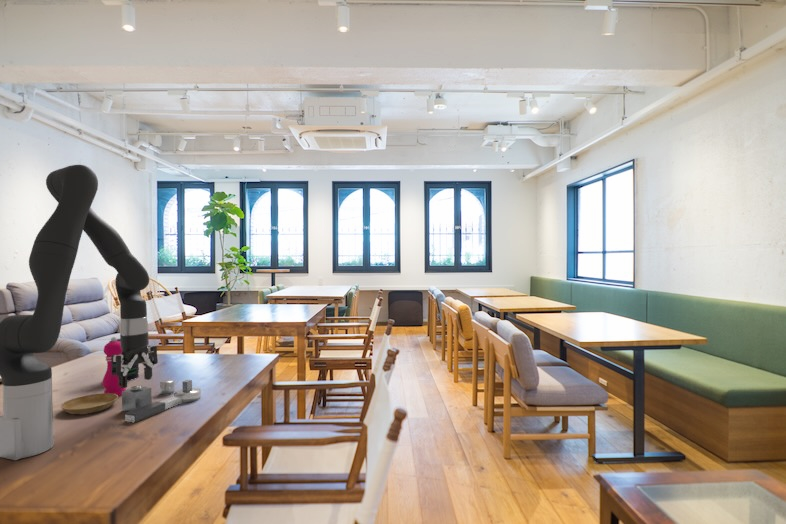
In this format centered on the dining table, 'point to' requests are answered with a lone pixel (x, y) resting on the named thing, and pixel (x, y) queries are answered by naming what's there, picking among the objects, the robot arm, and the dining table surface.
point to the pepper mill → (110, 380)
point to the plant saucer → (89, 403)
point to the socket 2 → (167, 387)
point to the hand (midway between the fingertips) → (136, 383)
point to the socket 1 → (136, 397)
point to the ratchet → (165, 403)
